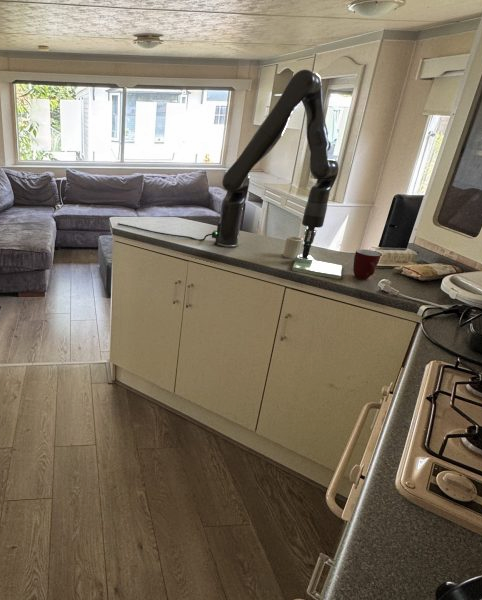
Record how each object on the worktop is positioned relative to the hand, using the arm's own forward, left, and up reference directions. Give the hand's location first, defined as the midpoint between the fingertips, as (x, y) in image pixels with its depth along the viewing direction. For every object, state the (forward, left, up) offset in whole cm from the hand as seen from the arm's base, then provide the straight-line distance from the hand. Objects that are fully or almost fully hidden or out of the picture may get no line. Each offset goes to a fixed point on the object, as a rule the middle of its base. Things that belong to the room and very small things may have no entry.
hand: (305, 256), depth 172 cm
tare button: (0, 0, -2) cm, 2 cm away
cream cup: (-6, +8, -3) cm, 10 cm away
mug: (+21, -6, -4) cm, 22 cm away
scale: (+5, -4, -3) cm, 7 cm away
